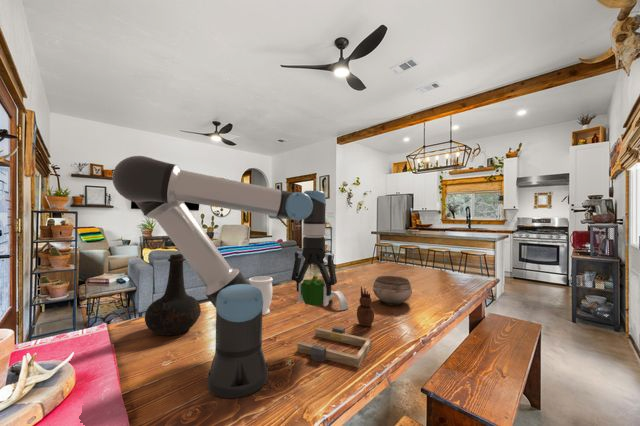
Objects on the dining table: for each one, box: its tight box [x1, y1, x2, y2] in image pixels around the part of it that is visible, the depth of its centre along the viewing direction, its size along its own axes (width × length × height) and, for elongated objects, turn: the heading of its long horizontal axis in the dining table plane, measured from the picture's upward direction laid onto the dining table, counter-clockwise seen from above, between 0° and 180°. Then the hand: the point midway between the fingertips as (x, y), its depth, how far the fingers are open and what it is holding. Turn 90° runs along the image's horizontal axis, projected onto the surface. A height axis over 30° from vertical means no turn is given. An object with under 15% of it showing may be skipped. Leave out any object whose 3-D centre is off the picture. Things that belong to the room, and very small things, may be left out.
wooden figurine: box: [356, 286, 375, 327], centre depth 109 cm, size 7×6×15 cm
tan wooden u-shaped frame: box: [296, 325, 373, 369], centre depth 89 cm, size 18×20×4 cm
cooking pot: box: [372, 274, 413, 306], centre depth 137 cm, size 25×19×12 cm
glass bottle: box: [144, 253, 202, 336], centre depth 101 cm, size 18×18×28 cm
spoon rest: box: [322, 290, 349, 311], centre depth 136 cm, size 24×12×7 cm, turn 34°
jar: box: [248, 275, 274, 316], centre depth 121 cm, size 11×10×15 cm
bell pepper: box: [301, 275, 326, 307], centre depth 93 cm, size 8×8×10 cm
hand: (313, 303), depth 93 cm, fingers closed on bell pepper, 8 cm apart
